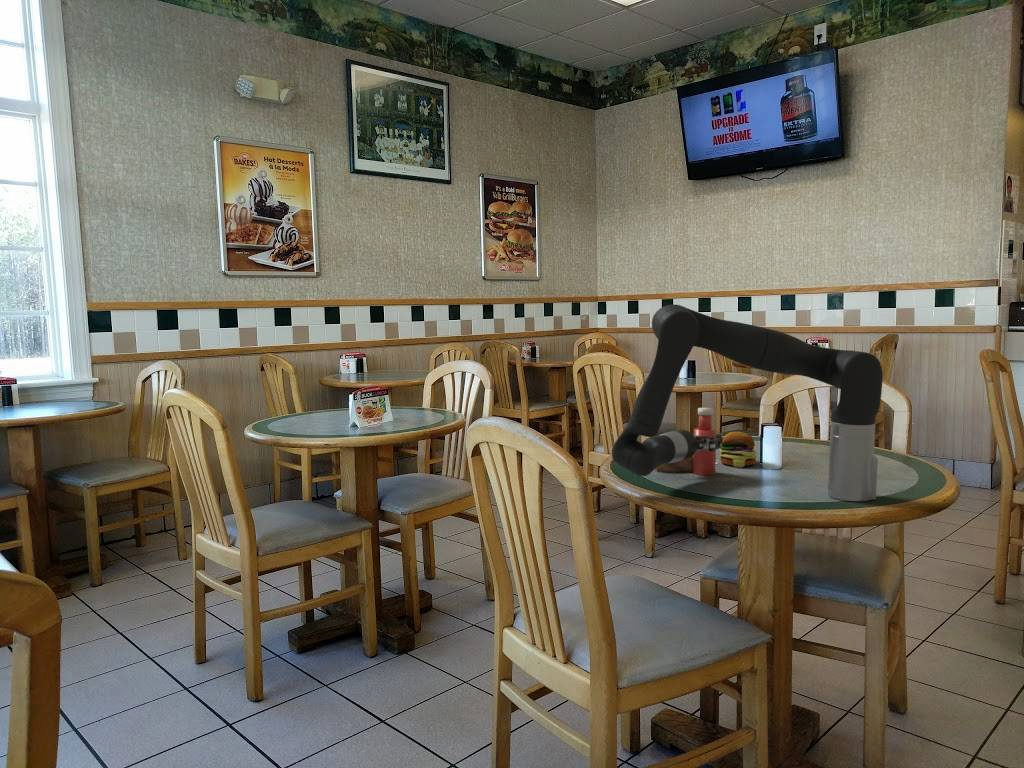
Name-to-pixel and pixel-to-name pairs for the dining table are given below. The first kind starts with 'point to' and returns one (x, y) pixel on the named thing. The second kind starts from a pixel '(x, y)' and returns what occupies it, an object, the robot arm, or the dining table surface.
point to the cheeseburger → (737, 450)
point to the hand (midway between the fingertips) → (709, 437)
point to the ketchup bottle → (703, 458)
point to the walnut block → (677, 466)
